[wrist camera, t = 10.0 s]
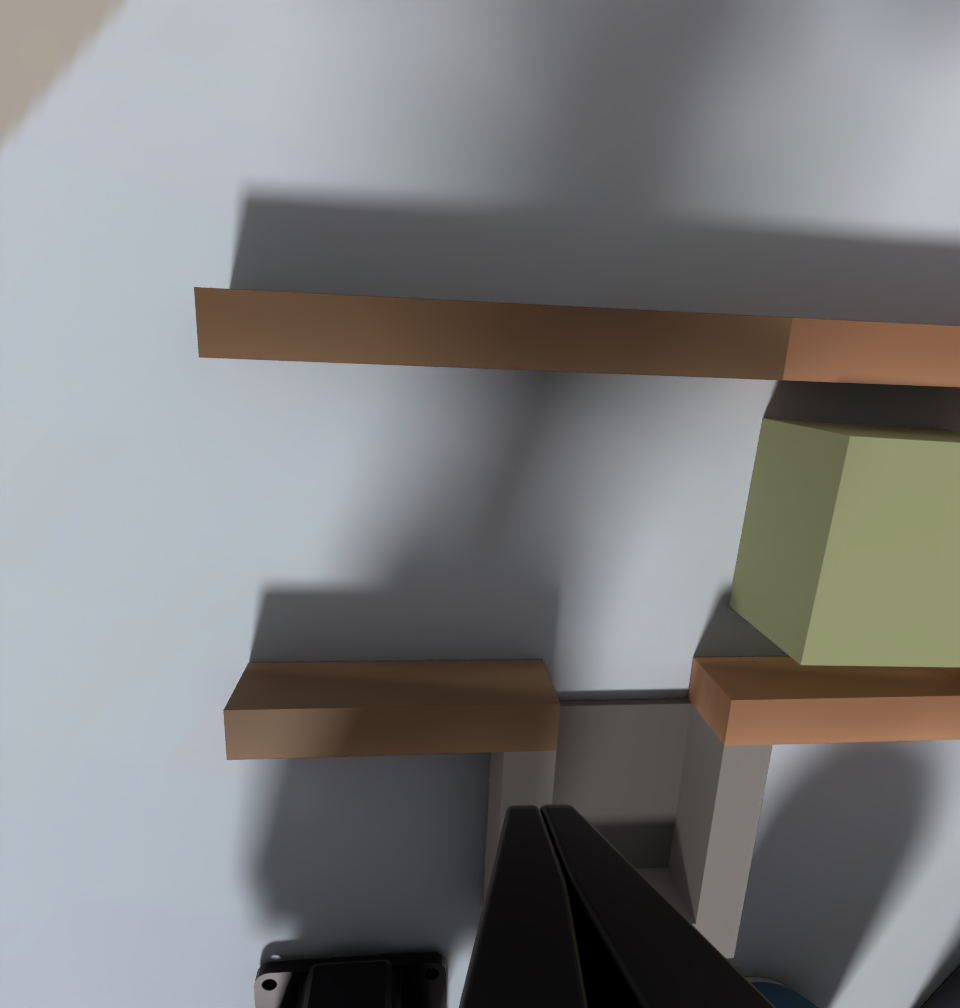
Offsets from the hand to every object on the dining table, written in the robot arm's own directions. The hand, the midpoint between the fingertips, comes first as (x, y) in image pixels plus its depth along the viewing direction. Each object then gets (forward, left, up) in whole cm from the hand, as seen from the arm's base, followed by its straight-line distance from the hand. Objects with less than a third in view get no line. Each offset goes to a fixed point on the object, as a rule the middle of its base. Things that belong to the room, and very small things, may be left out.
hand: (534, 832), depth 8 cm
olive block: (+1, -12, -11) cm, 16 cm away
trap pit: (-9, -5, -11) cm, 15 cm away
